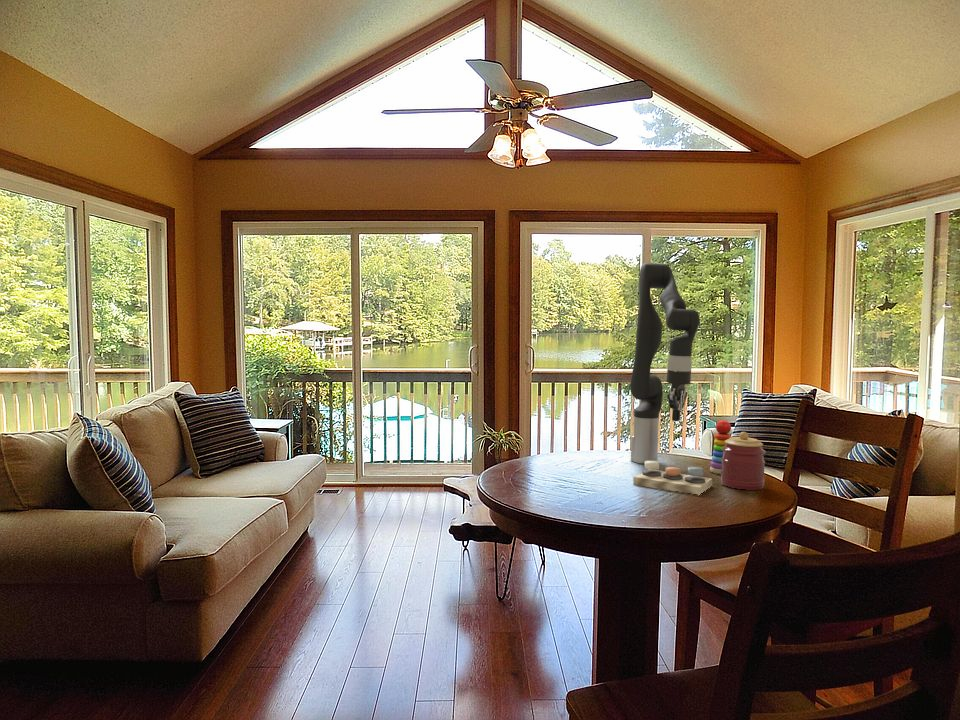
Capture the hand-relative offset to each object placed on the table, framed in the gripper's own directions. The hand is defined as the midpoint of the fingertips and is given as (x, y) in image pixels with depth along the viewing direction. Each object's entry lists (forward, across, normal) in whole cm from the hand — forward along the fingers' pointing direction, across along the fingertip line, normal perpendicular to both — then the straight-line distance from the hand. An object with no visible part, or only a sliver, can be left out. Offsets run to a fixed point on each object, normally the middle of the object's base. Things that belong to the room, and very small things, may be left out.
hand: (675, 420), depth 196 cm
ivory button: (+15, +8, -4) cm, 18 cm away
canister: (+20, -7, +20) cm, 29 cm away
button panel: (+20, +8, +3) cm, 21 cm away
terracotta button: (+16, +8, +3) cm, 18 cm away
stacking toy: (+20, -21, +10) cm, 31 cm away
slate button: (+15, +8, +10) cm, 19 cm away
